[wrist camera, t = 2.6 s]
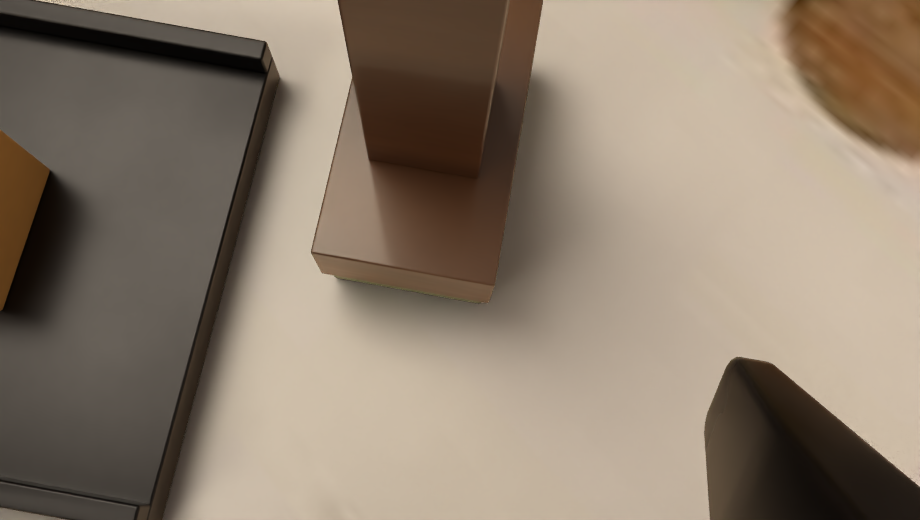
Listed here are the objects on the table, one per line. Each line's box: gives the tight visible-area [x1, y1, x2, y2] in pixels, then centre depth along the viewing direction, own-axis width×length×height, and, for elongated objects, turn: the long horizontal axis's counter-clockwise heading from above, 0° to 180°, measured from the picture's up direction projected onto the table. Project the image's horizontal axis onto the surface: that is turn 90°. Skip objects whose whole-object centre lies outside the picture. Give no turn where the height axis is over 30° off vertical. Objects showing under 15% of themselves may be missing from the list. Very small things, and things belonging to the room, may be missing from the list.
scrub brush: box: [311, 0, 543, 303], centre depth 16 cm, size 8×4×14 cm, turn 170°
